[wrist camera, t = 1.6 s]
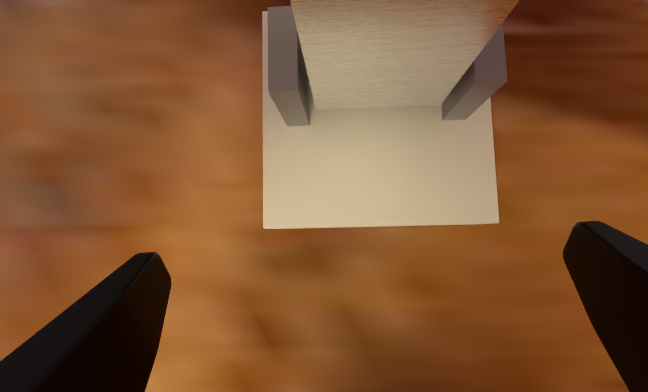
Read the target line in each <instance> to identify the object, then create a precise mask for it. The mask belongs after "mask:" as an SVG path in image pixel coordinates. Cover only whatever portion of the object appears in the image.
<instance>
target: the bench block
mask: <svg viewBox="0 0 648 392" xmlns="http://www.w3.org/2000/svg"><path fill="white" fill-rule="evenodd" d="M262 43H263V228H266V229H290V228H334V227H379V226H424V225H469V224H492V223H499V213H498V198H497V184H496V170H495V156H494V142H493V128H492V113H491V99H490V97H491V96H492V95H493V94H494V93H495V92H496V91H497V90H498V89H499V88H500V87H502V86H503V85H504V84H505V83H506V82H507V69H506V56H505V43H504V30H503V23H502V24H501V25H500V27H499V28H498V29H497V31H496V32H495V33H494V35H493V36H492V37H491V39H490V40H489V41H488V43H487V44H486V45H485V47H484V48H483V49H482V51H481V52H480V53H479V55H478V56H477V57H476V59H475V60H474V61H473V63H472V64H471V65H470V66H469V68H468V69H467V70H466V72H465V73H464V74H463V76H462V77H461V78H460V80H459V81H458V82H457V84H456V85H455V86H454V88H453V89H452V90H451V92H450V93H449V94H448V96H447V97H446V98H445V100H444V101H443V102H442V104H441V105H423V106H399V107H375V108H350V109H326V110H316V107H315V103H314V99H313V95H312V90H311V86H310V82H309V78H308V74H307V69H306V65H305V61H304V57H303V53H302V48H301V44H300V40H299V36H298V32H297V27H296V23H295V19H294V15H293V11H292V6H279V7H268V11H262Z"/></svg>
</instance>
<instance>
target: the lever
mask: <svg viewBox="0 0 648 392" xmlns="http://www.w3.org/2000/svg"><path fill="white" fill-rule="evenodd" d="M518 1H519V0H290V2H291V6H292V11H293V15H294V19H295V23H296V27H297V32H298V36H299V40H300V44H301V48H302V53H303V57H304V61H305V65H306V69H307V74H308V78H309V82H310V86H311V90H312V95H313V99H314V103H315V107H316V110H326V109H350V108H375V107H399V106H423V105H441V104H442V102H443V101H444V100H445V98H446V97H447V96H448V94H449V93H450V92H451V90H452V89H453V88H454V86H455V85H456V84H457V82H458V81H459V80H460V78H461V77H462V76H463V74H464V73H465V72H466V70H467V69H468V68H469V66H470V65H471V64H472V63H473V61H474V60H475V59H476V57H477V56H478V55H479V53H480V52H481V51H482V49H483V48H484V47H485V45H486V44H487V43H488V41H489V40H490V39H491V37H492V36H493V35H494V33H495V32H496V31H497V29H498V28H499V27H500V25H501V24H502V23H503V21H504V20H505V19H506V17H507V16H508V15H509V13H510V12H511V11H512V9H513V8H514V7H515V5H516V4H517V3H518Z"/></svg>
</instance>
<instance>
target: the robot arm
mask: <svg viewBox="0 0 648 392" xmlns="http://www.w3.org/2000/svg"><path fill="white" fill-rule="evenodd" d="M563 258H564V262H565V264H566V266H567V269H568V271H569V273H570V276H571V278H572V280H573V283H574V285H575V287H576V289H577V292H578V294H579V296H580V299H581V301H582V303H583V306H584V308H585V310H586V312H587V315H588V317H589V319H590V321H591V323H592V325H593V327H594V329H595V331H596V333H597V335H598V337H599V338H600V340H601V342H602V344H603V345H604V347H605V349H606V351H607V353H608V354H609V356H610V358H611V360H612V361H613V363H614V365H615V367H616V368H617V370H618V372H619V374H620V375H621V377H622V379H623V381H624V382H625V384H626V386H627V388H628V390H629V391H630V392H648V245H647V244H645V243H643V242H641V241H639V240H637V239H635V238H633V237H631V236H629V235H627V234H625V233H623V232H621V231H619V230H617V229H615V228H613V227H610V226H608V225H606V224H604V223H602V222H599V221H587V222H578V223H576V224H575V225H574V226H573V228H572V230H571V233H570V235H569V237H568V240H567V242H566V244H565V247H564V249H563ZM170 289H171V277H170V275H169V273H168V271H167V269H166V267H165V265H164V263H163V261H162V259H161V257H160V256H159V254H157V253H156V252H146V253H138V254H136V255H134V256H133V257H132V258H130V259H129V260H128V261H127V262H125V263H124V264H123V265H122V266H120V267H119V268H118V269H117V270H115V271H114V272H113V273H111V274H110V275H109V276H108V277H106V278H105V279H104V280H103V281H101V282H100V283H99V284H98V285H96V286H95V287H94V288H93V289H91V290H90V291H89V292H87V293H86V294H85V295H84V296H82V297H81V298H80V299H79V300H77V301H76V302H75V303H74V304H72V305H71V306H70V307H69V308H67V309H66V310H65V311H63V312H62V313H61V314H60V315H58V316H57V317H56V318H55V319H53V320H52V321H51V322H50V323H48V324H47V325H46V326H44V327H43V328H42V329H41V330H39V331H38V332H37V333H36V334H34V335H33V336H32V337H31V338H29V339H28V340H27V341H25V342H24V343H23V344H22V345H20V346H19V347H18V348H17V349H15V350H14V351H13V352H12V353H10V354H9V355H8V356H6V357H5V358H4V359H3V360H1V361H0V392H145V389H146V386H147V383H148V380H149V377H150V373H151V370H152V367H153V364H154V361H155V357H156V354H157V351H158V346H159V342H160V338H161V333H162V328H163V323H164V318H165V314H166V309H167V304H168V299H169V294H170Z"/></svg>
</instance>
